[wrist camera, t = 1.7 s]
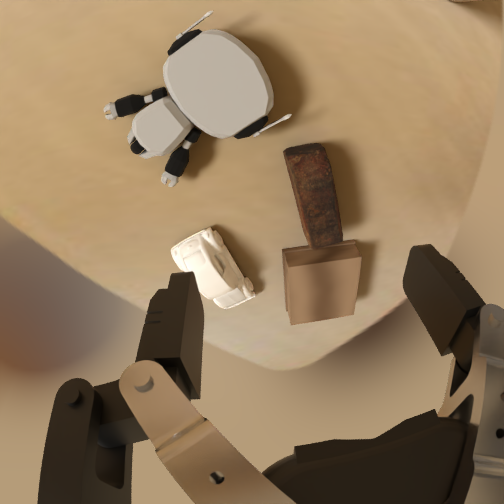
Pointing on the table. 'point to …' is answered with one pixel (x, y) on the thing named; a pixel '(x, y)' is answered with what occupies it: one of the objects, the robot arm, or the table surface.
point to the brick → (314, 194)
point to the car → (213, 268)
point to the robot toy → (199, 98)
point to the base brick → (321, 281)
